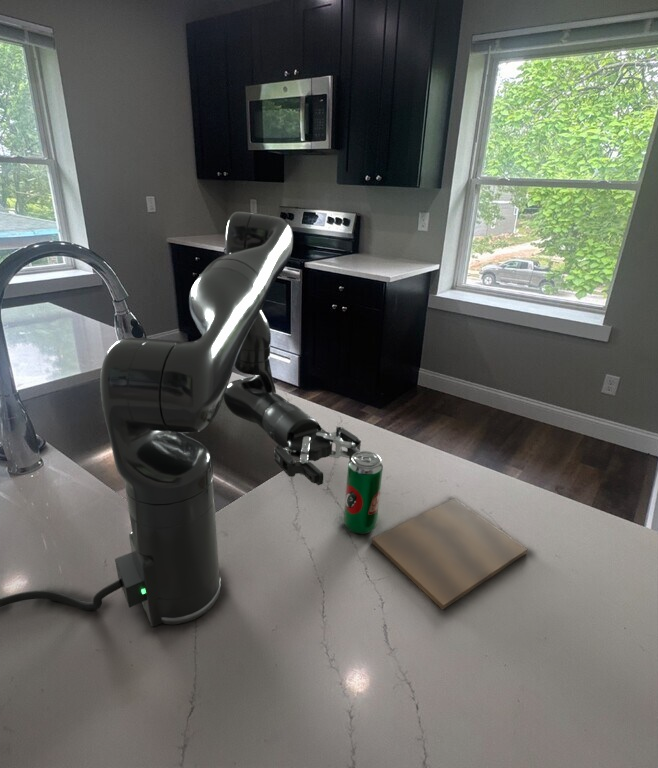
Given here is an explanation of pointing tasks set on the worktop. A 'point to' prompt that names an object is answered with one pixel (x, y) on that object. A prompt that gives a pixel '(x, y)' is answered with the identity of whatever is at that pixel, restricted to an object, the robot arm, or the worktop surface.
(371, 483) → the soda can
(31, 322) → the worktop surface
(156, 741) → the worktop surface
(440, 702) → the worktop surface
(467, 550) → the wooden board
